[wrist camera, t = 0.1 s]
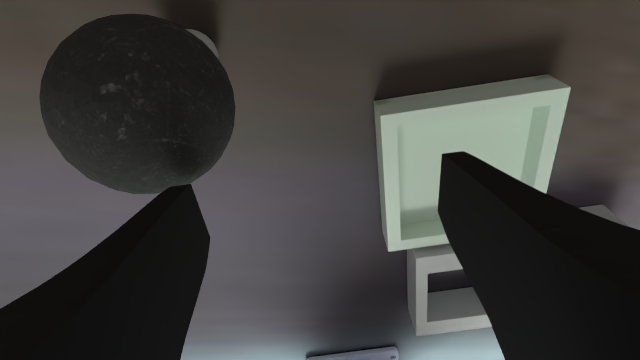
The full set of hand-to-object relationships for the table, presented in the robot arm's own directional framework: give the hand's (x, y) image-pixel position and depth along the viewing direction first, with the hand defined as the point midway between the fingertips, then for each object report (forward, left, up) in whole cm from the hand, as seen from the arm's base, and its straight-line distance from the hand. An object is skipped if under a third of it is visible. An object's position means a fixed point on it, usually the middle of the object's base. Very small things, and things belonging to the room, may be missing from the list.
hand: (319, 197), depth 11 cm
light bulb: (+3, +5, -10) cm, 12 cm away
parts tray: (-6, -8, -10) cm, 14 cm away
